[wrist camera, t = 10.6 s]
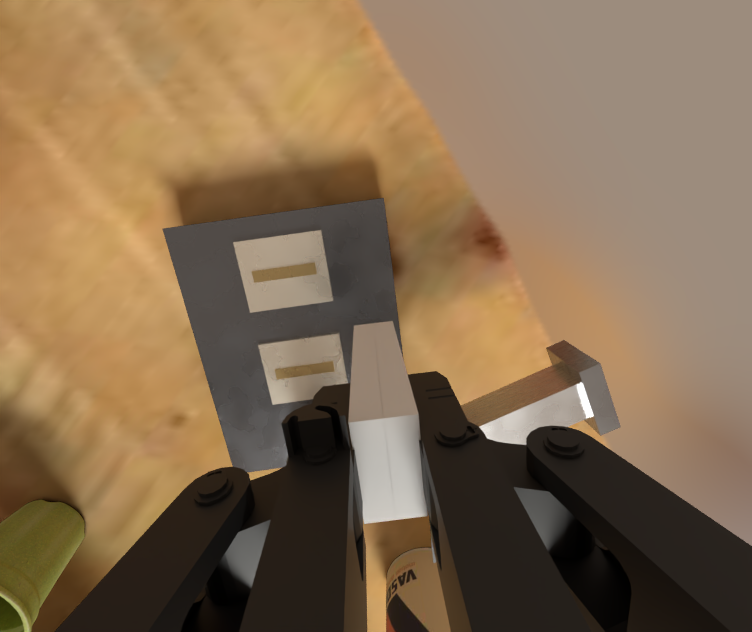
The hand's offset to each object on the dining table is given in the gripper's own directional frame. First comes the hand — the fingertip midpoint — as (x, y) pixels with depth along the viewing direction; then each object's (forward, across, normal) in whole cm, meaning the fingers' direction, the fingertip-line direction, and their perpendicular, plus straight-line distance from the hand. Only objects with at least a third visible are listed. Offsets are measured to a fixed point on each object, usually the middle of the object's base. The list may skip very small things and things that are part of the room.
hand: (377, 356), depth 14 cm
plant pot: (+16, -32, -20) cm, 41 cm away
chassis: (+16, -6, -4) cm, 17 cm away
